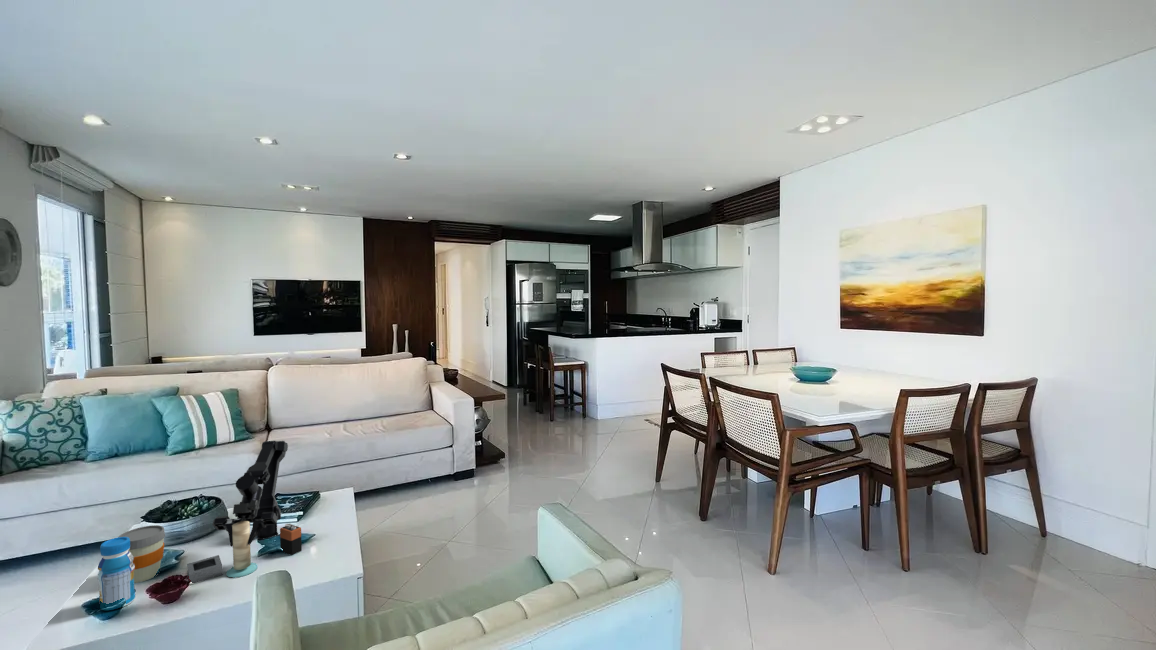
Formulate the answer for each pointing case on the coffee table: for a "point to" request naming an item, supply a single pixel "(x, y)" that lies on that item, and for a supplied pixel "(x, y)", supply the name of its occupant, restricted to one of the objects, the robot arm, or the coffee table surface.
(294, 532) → the battery
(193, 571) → the socket block
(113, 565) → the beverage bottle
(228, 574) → the mat
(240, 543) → the plug
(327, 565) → the coffee table surface
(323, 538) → the coffee table surface
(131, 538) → the reusable coffee cup
